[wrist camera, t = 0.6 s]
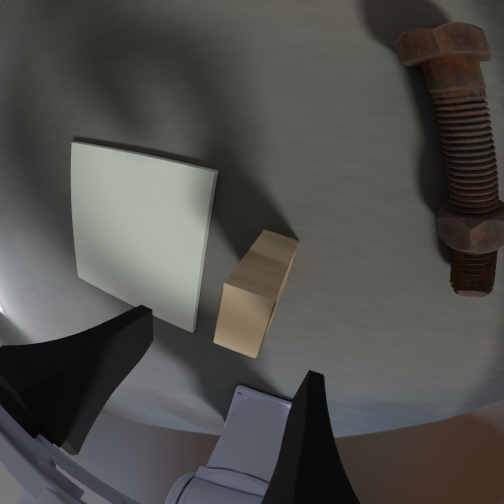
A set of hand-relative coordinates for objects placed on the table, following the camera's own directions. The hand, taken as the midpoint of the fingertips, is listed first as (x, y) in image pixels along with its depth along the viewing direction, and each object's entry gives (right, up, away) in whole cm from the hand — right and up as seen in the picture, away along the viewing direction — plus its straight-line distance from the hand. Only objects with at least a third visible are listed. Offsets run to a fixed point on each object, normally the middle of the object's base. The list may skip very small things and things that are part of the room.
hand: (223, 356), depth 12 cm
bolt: (+14, +10, +2) cm, 17 cm away
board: (-9, +6, +11) cm, 15 cm away
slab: (+3, +4, +8) cm, 9 cm away
